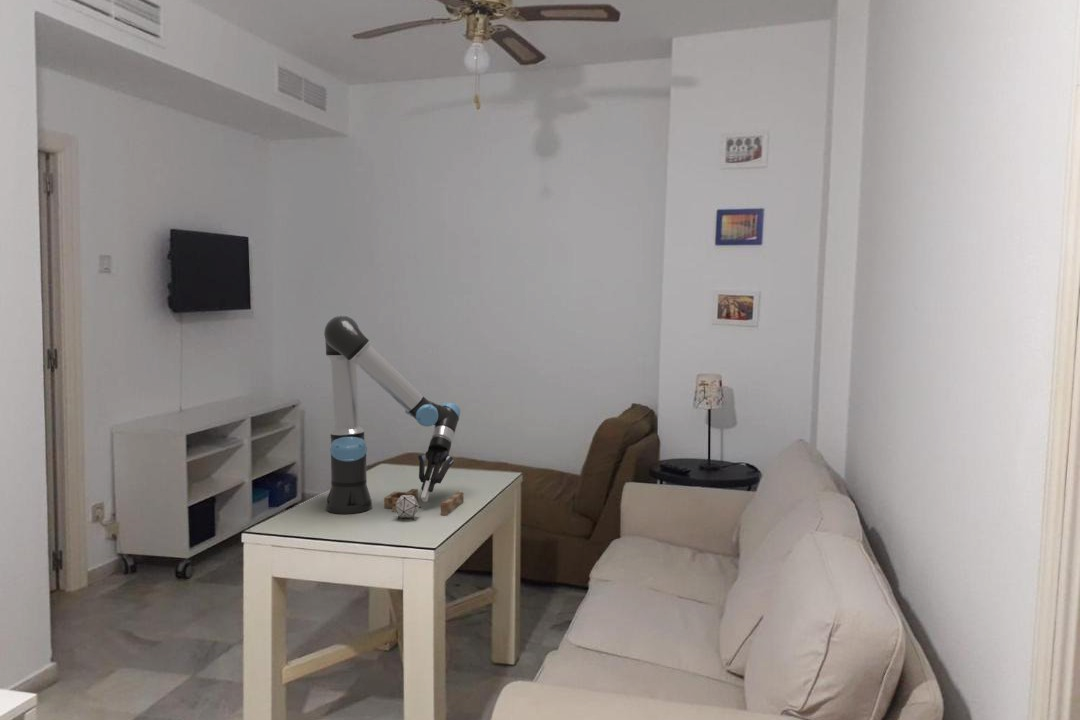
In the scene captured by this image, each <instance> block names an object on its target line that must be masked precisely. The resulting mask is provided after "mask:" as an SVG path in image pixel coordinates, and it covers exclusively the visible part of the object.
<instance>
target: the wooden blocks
mask: <svg viewBox="0 0 1080 720" xmlns="http://www.w3.org/2000/svg"><path fill="white" fill-rule="evenodd" d="M400 493H402V495H414V494H416V495H415V498H416V499H417V500H418V498H419V497H418V496H419V489H418V488H411V489H410V490H408V491H406V492H405V491H394V492H392V493H390V494H389V495H386V496H384V498H383V499H384V500H383V503H384V504H383V508H384V509H391V508H392V512H393V511H396V512H395V513H397V510H396V508H395V506H393V504H394V505H395V504H396V502H397V501H398V499H399V498H400V496H401V495H400ZM462 502H463V503H464V491H457V492H455V493H454V494H453V495H452V496H450V497H449V498H448V499H446V500H444V501H441V502H440V515H441V516H448V515H449V514H450V513H451V512H453V511H454V510H455V509H456V508H457V506H458V505H459V506H460V505H462V504H463V503H462ZM459 506H458V507H459ZM452 510H453V511H452ZM448 513H449V514H448ZM447 514H448V515H447Z"/></svg>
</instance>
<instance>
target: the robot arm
mask: <svg viewBox="0 0 1080 720" xmlns="http://www.w3.org/2000/svg"><path fill="white" fill-rule="evenodd" d="M323 334H324V341H325V356H326V357H327V358H328V359H329V360H330V367H331V386H332V388H331V389H332V404H333V405H332V406H333V420H334V421H333V423H334V424H333V425H334V427H333V429H332V430H331V431H330V433H329V435H330V448H329V449H330V450H329V451H330V473H331V474H330V479H331V481H330V490H329V493H328V496H327V500H326V503H325V510H326V511H327V512H329V513H332V514H341V515H349V514H350V515H351V514H357V513H363V512H368V511H370V510H371V509H372V508H373V501H372V500H373V499H372V498H371V494H370V491H369V489H368V485H367V483H368V482H367V479H368V478H367V450H368V447H367V443H366V441H365V439H366V438H365V430H364V429H363V428H362V427H361V426H360V411H359V409H360V407H359V390H358V388H359V387H358V374H357V373H358V371H357V366H358V367H359V368H361V369H362V370H363V371H364V372H365V373H366V374H367V375H368V376H369V377H370V378H371V379H372V380H373V381H374V382H375V383H377V384H378V385H379V386H380V387H381V388H382V389H383V390H384V391H385V392H386V393H387V394H388V395H389V396H390V397H391V398H393V399H394V401H396V403H397V404H398V405H400V406H401V407H402V408H403V409H404V412H405V414H407V415H409V416H410V417H413V418H414V419H415V420H416V422H417V423H418V424H419V425H421V426H423V427H426V428H427V427H431V426H434V429H433V432H432V434H431V437H430V441H429V445H428V447H427V451H426V452H425V454H423V455H421V454H420V455H418V456H417V458H418V460H419V462H418V463H419V465H418V468H419V469H418V478H419V480H420V482H421V483H422V485H421V489H420V490H421V492H422V493H421V495H420V498H421V500H422V502H426V503H427V502H429V501H428V500H429V497H430V494H431V493H433V491H434V488H435V485H436V484H441V483H442V481H443V479H444V478H445V476H446V474H447V472H448V471H449V469H450V467H451V466H453V464H454V462H455V461H454V459H453V457H452V456H450V455H449V454H450V450H451V447H452V445H453V441H454V436H455V432H456V430H457V426H458V422H459V420H460V414H461V409H460V407H459V406H458V405H457V404H456V403H453V402H447V401H446V402H444V403H442V404H438V403H435V402H433V401H431V400H429V399H427V398H426V397H424V395H423V394H421V393H420V391H418V389H416V388H415V386H413V385H412V383H410V382H409V381H408V379H406V378H405V377H404V376H403V375H401V373H400V372H399V371H397V369H396V368H394V367H393V366H392V365H391V364H390V363H389V362H388V360H386V359H385V358H384V357H383V356H382V355H381V354H380V353H379V352H378V351H377V350H375V348H373V346H371V342H370V340H369V339H368V338H367V337H366V336H365V334H364V333H363V332H362V331H361V330H360V328H359V325H358V323H357V322H356V321H355V320H354V319H353V318H351V317H349V316H347V315H340V316H338V315H337V316H335V317H332V318H331V319H330V320H329V321H328V322H327V323H326V325H325V327H324V332H323ZM426 461H427V467H425V465H426V464H425V463H426ZM425 468H426V470H425Z"/></svg>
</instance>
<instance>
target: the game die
mask: <svg viewBox="0 0 1080 720" xmlns="http://www.w3.org/2000/svg"><path fill="white" fill-rule="evenodd" d="M400 495H401V496H400V498H399V499H398V501H397V502H396V504H395V505H394V504H393V506H395V508H396V510H397V512H396V513H397V515H398V516H397V520H399V519H401V518H409V519H410V518H411V519H412V520H413V519H415V518H414V516H415V515H416V513H417V512H418V510H419V509H422V506H420V505H419V503H418V501H417V500H418V499H417V500H416V498H415V495H416V494H414V495H402V493H400Z"/></svg>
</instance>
